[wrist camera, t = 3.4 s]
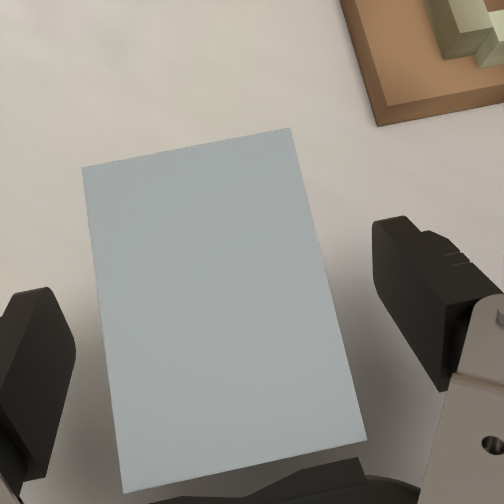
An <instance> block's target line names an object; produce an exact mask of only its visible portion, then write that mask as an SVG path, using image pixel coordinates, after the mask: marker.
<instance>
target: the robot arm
mask: <svg viewBox="0 0 504 504" xmlns="http://www.w3.org/2000/svg"><path fill="white" fill-rule="evenodd" d="M372 259H373V279H374V284H375V288H376V291H377V293H378V296H379V298H380V299H381V301H382V302H383V304H384V306H385V307H386V309H387V310H388V312H389V314H390V315H391V317H392V318H393V320H394V321H395V323H396V325H397V326H398V328H399V329H400V331H401V333H402V334H403V336H404V337H405V339H406V340H407V342H408V344H409V345H410V347H411V348H412V350H413V352H414V353H415V355H416V356H417V358H418V360H419V361H420V363H421V364H422V366H423V367H424V369H425V371H426V372H427V374H428V375H429V377H430V379H431V380H432V382H433V383H434V385H435V386H436V388H437V390H438V391H439V392H444V391H447V395H446V399H445V402H444V406H443V410H442V414H441V417H440V421H439V425H438V428H437V432H436V436H435V440H434V443H433V447H432V451H431V455H430V458H429V462H428V466H427V469H426V473H425V477H424V481H423V484H422V488H421V489H420V488H418V487H416V486H413V485H411V484H408V483H405V482H402V481H399V480H395V479H391V478H386V477H380V476H370V475H364V472H363V469H362V467H361V464H360V461H359V459H358V457H355V458H351V459H346V460H342V461H337V462H333V463H328V464H324V465H320V466H315V467H311V468H306V469H302V470H299V471H297V472H295V473H293V474H291V475H289V476H287V477H285V478H283V479H281V480H279V481H277V482H275V483H273V484H271V485H269V486H267V487H265V488H263V489H261V490H259V491H257V492H255V493H253V494H251V495H249V496H247V497H243V498H223V497H191V496H181V497H176V498H172V499H167V500H163V501H158V502H154V503H150V504H504V293H503V292H502V291H501V290H500V289H499V288H498V287H497V286H496V285H495V284H494V283H493V282H492V281H491V280H490V279H489V278H488V277H487V276H486V275H485V274H484V273H483V272H482V271H480V270H479V269H478V268H477V267H476V266H475V265H474V264H473V263H470V260H469V259H468V258H467V257H466V256H465V255H464V254H463V253H460V250H459V249H458V248H457V247H456V246H455V245H454V244H453V243H452V242H451V241H450V240H449V239H447V238H445V237H443V236H441V235H439V234H436V233H434V232H432V231H430V230H428V231H423V232H421V231H420V230H419V229H418V228H417V227H416V226H415V225H414V224H413V223H412V222H411V221H410V220H409V219H408V218H407V217H406V216H398V217H393V218H388V219H383V220H378V221H374V223H373V225H372ZM75 359H76V348H75V342H74V338H73V335H72V333H71V331H70V328H69V326H68V324H67V322H66V320H65V317H64V315H63V313H62V311H61V309H60V306H59V304H58V302H57V300H56V298H55V295H54V293H53V292H52V290H51V289H50V288H48V287H43V288H38V289H33V290H28V291H24V292H19V293H15V294H14V295H13V296H12V298H11V300H10V302H9V304H8V306H7V307H6V309H5V311H4V313H3V315H2V317H0V504H25V503H24V502H23V500H22V499H21V497H20V496H19V495H20V491H21V488H22V485H23V482H26V481H30V480H35V479H39V478H44V477H46V473H47V469H48V465H49V461H50V457H51V453H52V449H53V445H54V442H55V438H56V434H57V430H58V426H59V422H60V418H61V414H62V410H63V406H64V403H65V399H66V395H67V391H68V387H69V383H70V379H71V375H72V371H73V367H74V364H75Z"/></svg>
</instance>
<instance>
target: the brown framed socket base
mask: <svg viewBox="0 0 504 504" xmlns="http://www.w3.org/2000/svg"><path fill="white" fill-rule="evenodd" d="M340 2H341V5H342V9H343V12H344V16H345V19H346V22H347V26H348V29H349V32H350V36H351V39H352V42H353V46H354V49H355V52H356V56H357V59H358V62H359V66H360V69H361V73H362V76H363V79H364V83H365V86H366V89H367V93H368V96H369V99H370V103H371V106H372V109H373V113H374V116H375V119H376V123H377V126H383V125H388V124H394V123H399V122H404V121H409V120H414V119H419V118H425V117H430V116H435V115H440V114H445V113H450V112H456V111H461V110H466V109H471V108H476V107H481V106H487V105H492V104H497V103H502V102H504V0H340Z"/></svg>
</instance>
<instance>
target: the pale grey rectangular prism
mask: <svg viewBox="0 0 504 504" xmlns="http://www.w3.org/2000/svg"><path fill="white" fill-rule="evenodd" d="M82 175H83V183H84V190H85V198H86V206H87V214H88V222H89V230H90V237H91V245H92V253H93V261H94V269H95V277H96V284H97V292H98V300H99V308H100V316H101V324H102V331H103V339H104V347H105V355H106V363H107V371H108V378H109V386H110V394H111V402H112V410H113V418H114V426H115V433H116V441H117V449H118V457H119V465H120V473H121V480H122V488H123V494H125V493H130V492H134V491H139V490H143V489H148V488H152V487H157V486H162V485H166V484H171V483H175V482H180V481H184V480H189V479H193V478H198V477H202V476H207V475H212V474H216V473H221V472H225V471H230V470H234V469H239V468H243V467H248V466H253V465H257V464H262V463H266V462H271V461H275V460H280V459H284V458H289V457H293V456H298V455H303V454H307V453H312V452H316V451H321V450H325V449H330V448H334V447H339V446H343V445H348V444H353V443H357V442H362V441H366V440H367V436H366V432H365V428H364V424H363V420H362V416H361V412H360V408H359V404H358V400H357V396H356V392H355V388H354V384H353V380H352V376H351V372H350V368H349V364H348V360H347V356H346V352H345V348H344V344H343V340H342V336H341V332H340V327H339V323H338V319H337V315H336V311H335V307H334V303H333V299H332V295H331V291H330V287H329V283H328V279H327V275H326V271H325V267H324V263H323V259H322V255H321V251H320V247H319V243H318V239H317V235H316V231H315V227H314V223H313V219H312V215H311V211H310V207H309V203H308V199H307V195H306V191H305V187H304V183H303V179H302V175H301V171H300V167H299V162H298V158H297V154H296V150H295V146H294V142H293V138H292V134H291V130H290V128H285V129H280V130H275V131H269V132H264V133H259V134H254V135H249V136H243V137H238V138H233V139H228V140H223V141H217V142H212V143H207V144H202V145H197V146H191V147H186V148H181V149H176V150H171V151H165V152H160V153H155V154H150V155H144V156H139V157H134V158H129V159H124V160H118V161H113V162H108V163H103V164H98V165H92V166H87V167H82Z"/></svg>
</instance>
